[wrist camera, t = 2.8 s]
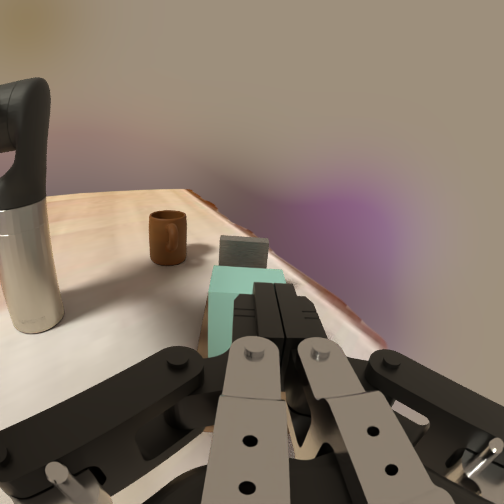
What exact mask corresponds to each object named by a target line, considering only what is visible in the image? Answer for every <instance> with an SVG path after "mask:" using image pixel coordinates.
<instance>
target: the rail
mask: <svg viewBox="0 0 504 504" xmlns="http://www.w3.org/2000/svg"><path fill="white" fill-rule="evenodd" d="M268 249H269V241H268V239H266V238H253V237H239V236H224V235H221V237H220V248H219V266H230V267H246V268H262V269H266V267H267V258H268Z"/></svg>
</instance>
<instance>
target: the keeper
mask: <svg viewBox="0 0 504 504" xmlns="http://www.w3.org/2000/svg"><path fill="white" fill-rule="evenodd" d="M254 282H266V283H286V281H285V278H284V274H283V271H282V270H278V269H262V268H246V267H230V266H216V265H214V267H213V272H212V276H211V281H210V286H209V291H208V358H210V357H215V356H218V355H221V354H223V353H224V352H226V351H227V350H228V349H229V348H230V346H231V344H232V325H233V307H234V299H235V298H236V297H237V296H238V295H239V294H252V292H253V283H254Z"/></svg>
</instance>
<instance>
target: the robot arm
mask: <svg viewBox="0 0 504 504" xmlns="http://www.w3.org/2000/svg"><path fill="white" fill-rule="evenodd" d="M50 103H51V98H50V90H49V86H48V83H47V82H46V80H44V79H43V78H31V79H25V80H20V81H16V82H12V83H8V84H3V85H0V153H3V152H9V151H14V150H16V155H15V160H14V164H13V165H12V167H11V168H10V169H9V170H8V171H7V173H6V174H5V175H3V176H2V177H1V178H0V283H1V286H2V290H3V294H4V297H5V300H6V304H7V307H8V310H9V313H10V316H11V319H12V322H13V325H14V327H15V328H16V329H17V330H19V331H20V332H24V333H38V332H42V331H45V330H48V329H50V328H52V327H53V326H55V325H56V324H57V323H58V322H59V321H60V320H61V319H62V317H63V315H64V307H63V303H62V299H61V295H60V290H59V285H58V281H57V276H56V270H55V265H54V259H53V253H52V246H51V239H50V232H49V223H48V214H47V203H46V154H47V137H48V128H49V117H50ZM281 392H285V393H286V401H285V400H284V399H281ZM395 400H397V401H399V402H401V403H403V404H404V405H406V406H408V407H409V408H411V409H413V410H415V411H416V412H418V413H420V414H422V415H424V416H425V417H427V418H428V420H429V423H428V424H427V425H418V424H416V423H415V422H413V421H411V420H409V419H408V418H406V417H404V416H402V415H401V414H399V413H397V412H396V411H394V410H392V409H391V407H392V405H393V404H394V402H395ZM287 424H288V428H289V432H290V436H291V440H292V444H293V448H294V452H295V459H293V458H289V455H288V433H287ZM212 425H214V430H213V436H212V442H211V448H210V453H209V459H208V465H204V466H200V467H197V468H194V469H192V470H189V471H187V472H185V473H183V474H181V475H180V476H178V477H176V478H175V479H173V480H172V481H171V482H169V483H168V484H167V485H166V486H164V487H163V488H162V489H160V490H159V491H158V492H157V493H155V494H154V495H153V496H151V497H150V498H149V499H147V500H146V501H145V502H143V503H142V504H504V407H503V406H501V405H499V404H497V403H495V402H493V401H491V400H489V399H487V398H485V397H483V396H481V395H479V394H477V393H475V392H473V391H472V390H469V389H467V388H466V387H463V386H462V385H460V384H458V383H456V382H454V381H452V380H450V379H448V378H446V377H444V376H442V375H440V374H438V373H437V372H435V371H433V370H431V369H429V368H427V367H425V366H423V365H421V364H419V363H417V362H416V361H413V360H412V359H410V358H408V357H406V356H404V355H402V354H400V353H398V352H396V351H392V350H387V349H383V350H377V351H375V352H374V353H372V354H371V356H370V358H369V361H366V360H360V359H354V358H349V357H346V355H345V354H344V352H343V350H342V348H341V347H340V346H339V345H338V344H337V343H335V342H333V341H331V340H329V339H328V338H327V336H326V333H325V331H324V328H323V326H322V323H321V321H320V319H319V316H318V314H317V313H316V309H315V306H314V304H313V303H312V302H311V301H310V300H309V299H308V298H306V297H305V296H297V295H296V292H295V289H294V286H293V284H287V283H266V282H254V283H253V292H252V294H239V295H238V296H237V297H236V298H235V299H234V307H233V325H232V344H231V346H230V348H229V349H228V350H227V351H226V352H224V353H223V354H221V355H218V356H215V357H210V358H202V356H201V355H200V354H199V353H198V352H197V351H195V350H194V349H191V348H188V347H183V346H173V347H168V348H165V349H163V350H161V351H159V352H157V353H155V354H153V355H152V356H150V357H148V358H146V359H144V360H142V361H141V362H139V363H137V364H135V365H133V366H131V367H129V368H127V369H126V370H124V371H122V372H120V373H118V374H116V375H114V376H112V377H110V378H109V379H107V380H105V381H103V382H101V383H99V384H97V385H95V386H93V387H91V388H89V389H87V390H85V391H83V392H81V393H79V394H77V395H75V396H73V397H71V398H69V399H67V400H65V401H63V402H61V403H59V404H57V405H55V406H53V407H51V408H49V409H47V410H45V411H42V412H40V413H38V414H36V415H34V416H32V417H30V418H28V419H25V420H23V421H21V422H19V423H17V424H14V425H12V426H10V427H8V428H6V429H3V430H1V431H0V488H1V489H2V490H3V491H4V492H5V493H6V494H7V495H8V496H10V497H11V499H12V500H13V502H14V504H113V502H112V499H111V496H113V495H114V494H116V493H118V492H119V491H121V490H122V489H124V488H126V487H127V486H129V485H130V484H132V483H133V482H135V481H136V480H138V479H139V478H141V477H142V476H144V475H145V474H147V473H148V472H150V471H151V470H153V469H154V468H155V467H157V466H158V465H160V464H161V463H162V462H164V461H165V460H167V459H168V458H169V457H171V456H172V455H173V454H175V453H176V452H177V451H179V450H180V449H181V448H183V447H184V446H185V445H187V444H188V443H189V442H190V441H192V440H193V439H194V438H196V437H197V436H198V435H199V434H201V433H202V432H203V430H204V429H205V427H207V426H212Z"/></svg>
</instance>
